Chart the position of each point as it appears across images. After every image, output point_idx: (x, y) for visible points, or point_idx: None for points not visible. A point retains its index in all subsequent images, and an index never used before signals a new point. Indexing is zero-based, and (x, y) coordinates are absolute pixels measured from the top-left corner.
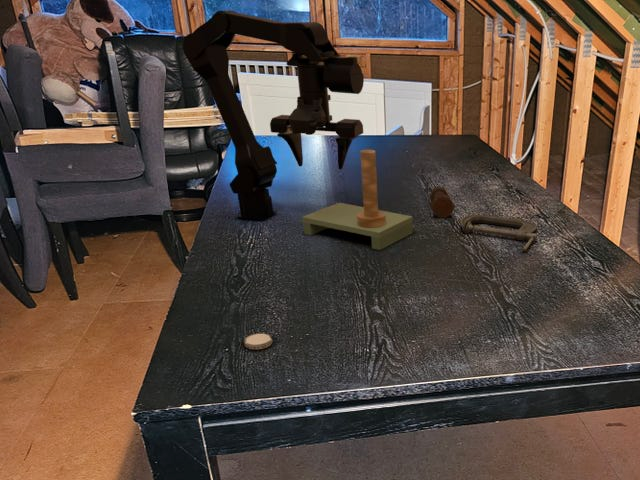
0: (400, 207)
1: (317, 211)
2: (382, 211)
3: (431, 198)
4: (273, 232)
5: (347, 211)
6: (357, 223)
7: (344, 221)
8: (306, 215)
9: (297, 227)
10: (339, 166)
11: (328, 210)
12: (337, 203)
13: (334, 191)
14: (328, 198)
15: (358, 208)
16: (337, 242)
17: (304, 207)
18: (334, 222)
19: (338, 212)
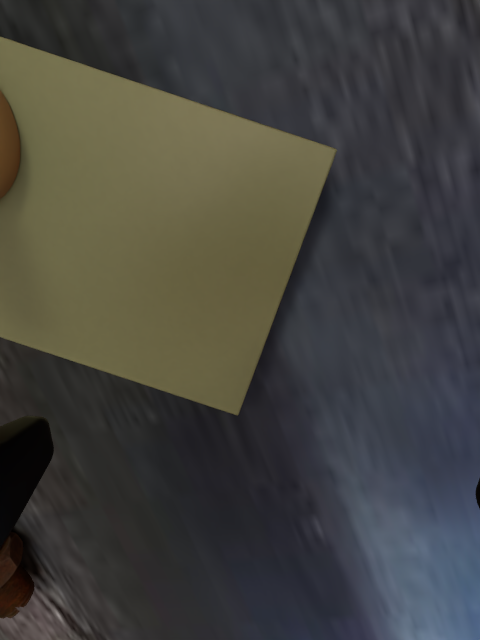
0: (102, 511)
1: (287, 265)
2: (11, 332)
3: (4, 551)
4: (476, 140)
5: (149, 299)
6: (6, 102)
7: (89, 131)
8: (321, 181)
9: (381, 240)
10: (12, 428)
11: (240, 293)
12: (240, 401)
13: (363, 623)
14: (361, 564)
15: (123, 352)
16: (140, 82)
17: (421, 473)
18: (128, 95)
19: (181, 273)
